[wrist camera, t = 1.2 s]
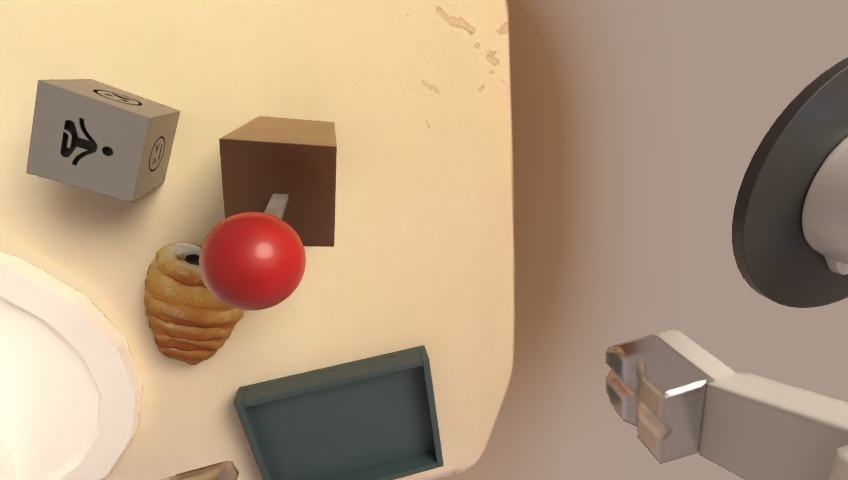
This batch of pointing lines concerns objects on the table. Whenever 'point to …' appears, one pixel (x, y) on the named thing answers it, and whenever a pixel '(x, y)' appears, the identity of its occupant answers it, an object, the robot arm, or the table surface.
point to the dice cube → (100, 138)
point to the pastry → (185, 306)
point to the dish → (60, 380)
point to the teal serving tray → (345, 420)
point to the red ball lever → (270, 210)
